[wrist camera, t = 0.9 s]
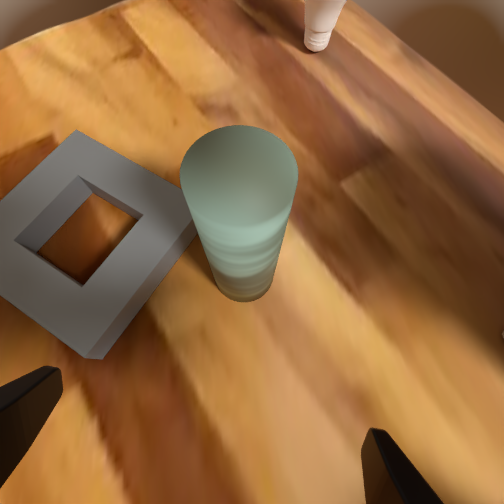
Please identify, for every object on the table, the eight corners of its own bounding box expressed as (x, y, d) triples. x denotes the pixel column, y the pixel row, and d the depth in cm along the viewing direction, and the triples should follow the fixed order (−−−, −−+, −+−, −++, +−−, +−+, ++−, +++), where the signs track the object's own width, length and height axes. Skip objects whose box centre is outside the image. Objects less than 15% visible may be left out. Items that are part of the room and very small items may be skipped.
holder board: (102, 359, 22) (84, 357, 19) (-26, 265, 24) (-56, 253, 22) (209, 218, 26) (205, 202, 23) (90, 149, 28) (76, 129, 26)
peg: (253, 313, 23) (258, 247, 11) (203, 282, 24) (155, 187, 12) (283, 264, 24) (318, 156, 12) (235, 236, 25) (222, 109, 13)
